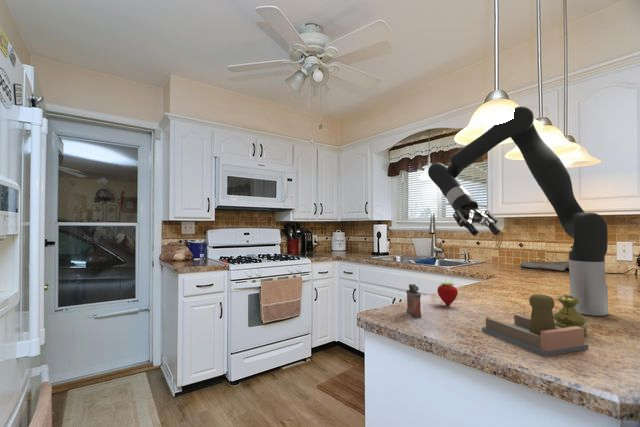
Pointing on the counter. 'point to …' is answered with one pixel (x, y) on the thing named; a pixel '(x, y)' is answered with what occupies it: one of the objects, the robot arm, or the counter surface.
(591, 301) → the robot arm
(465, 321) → the counter surface
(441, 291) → the strawberry
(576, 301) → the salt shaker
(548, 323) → the cork
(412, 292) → the lighter
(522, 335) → the guide track
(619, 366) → the counter surface
